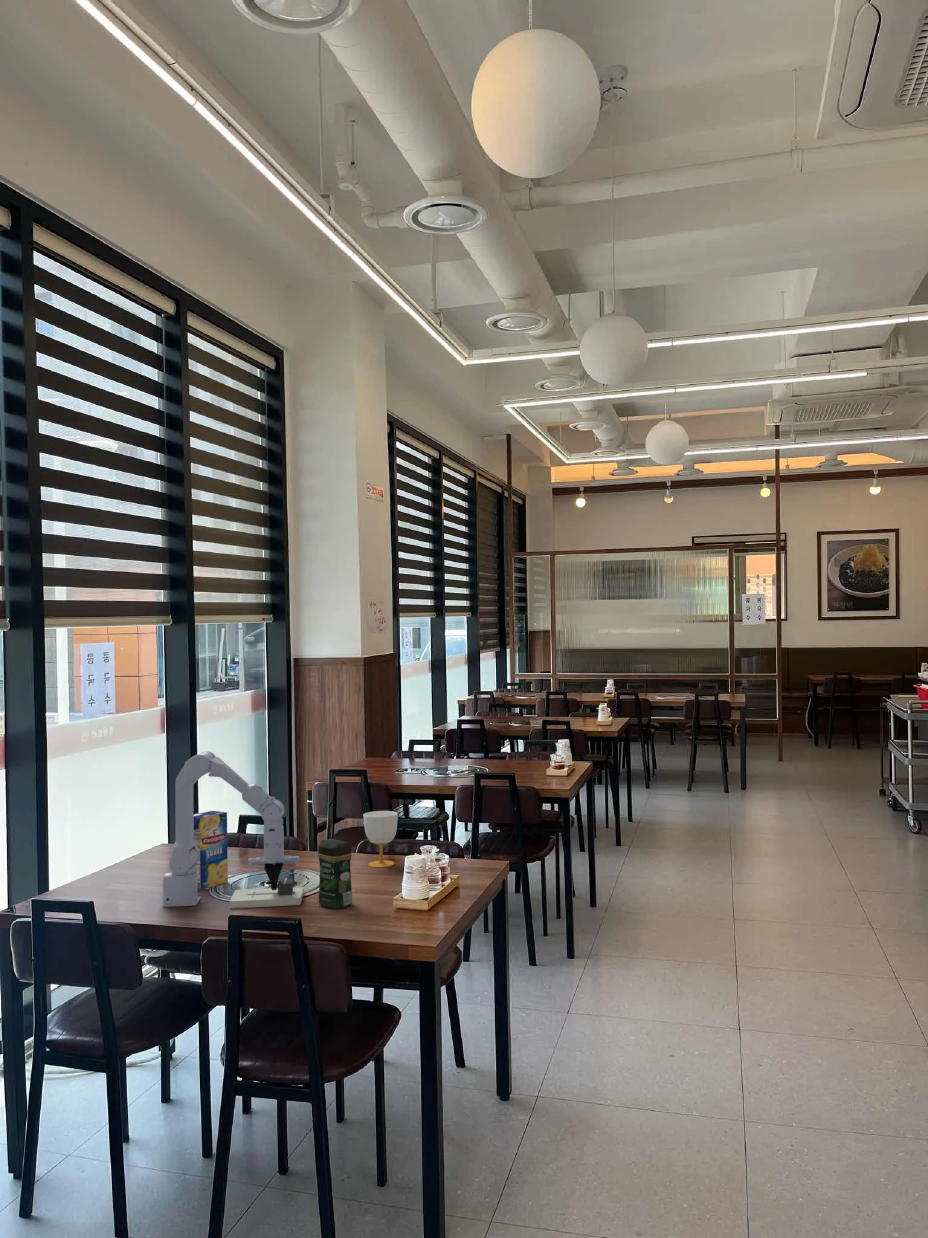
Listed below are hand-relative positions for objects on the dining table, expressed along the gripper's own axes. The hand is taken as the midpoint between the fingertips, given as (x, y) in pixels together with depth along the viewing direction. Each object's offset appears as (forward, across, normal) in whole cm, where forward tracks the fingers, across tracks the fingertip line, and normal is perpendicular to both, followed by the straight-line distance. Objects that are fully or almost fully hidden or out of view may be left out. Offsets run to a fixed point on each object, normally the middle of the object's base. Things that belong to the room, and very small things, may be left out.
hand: (274, 889), depth 263 cm
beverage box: (+3, -23, +22) cm, 32 cm away
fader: (+1, +3, 0) cm, 3 cm away
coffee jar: (+3, +18, -8) cm, 20 cm away
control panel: (+3, -2, 0) cm, 4 cm away
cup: (+3, +32, +38) cm, 50 cm away
